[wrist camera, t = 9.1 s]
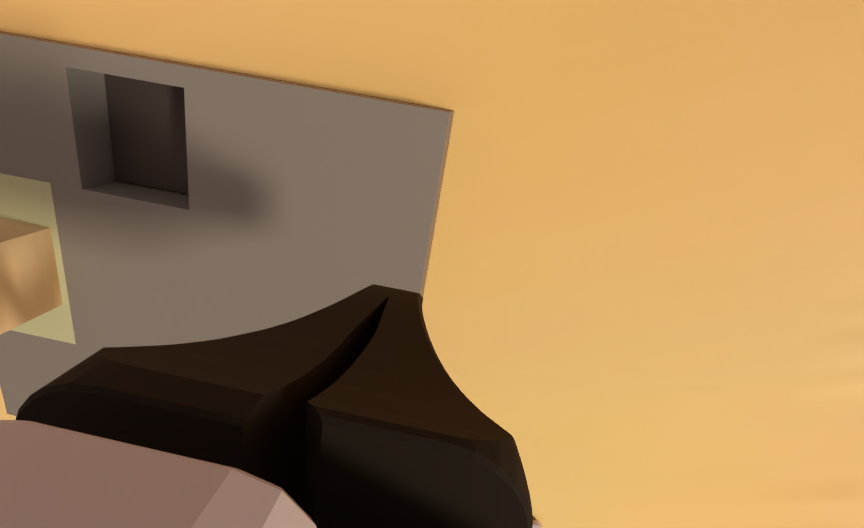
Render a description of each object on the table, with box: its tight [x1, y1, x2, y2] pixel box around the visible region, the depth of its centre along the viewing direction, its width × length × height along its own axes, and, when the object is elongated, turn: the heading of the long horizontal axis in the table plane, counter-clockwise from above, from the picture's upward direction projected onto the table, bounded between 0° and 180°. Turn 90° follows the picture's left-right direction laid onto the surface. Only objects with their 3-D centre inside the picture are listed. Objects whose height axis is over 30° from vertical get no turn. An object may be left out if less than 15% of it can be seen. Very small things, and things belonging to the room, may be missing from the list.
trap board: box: [0, 32, 454, 416], centre depth 22 cm, size 20×22×2 cm
